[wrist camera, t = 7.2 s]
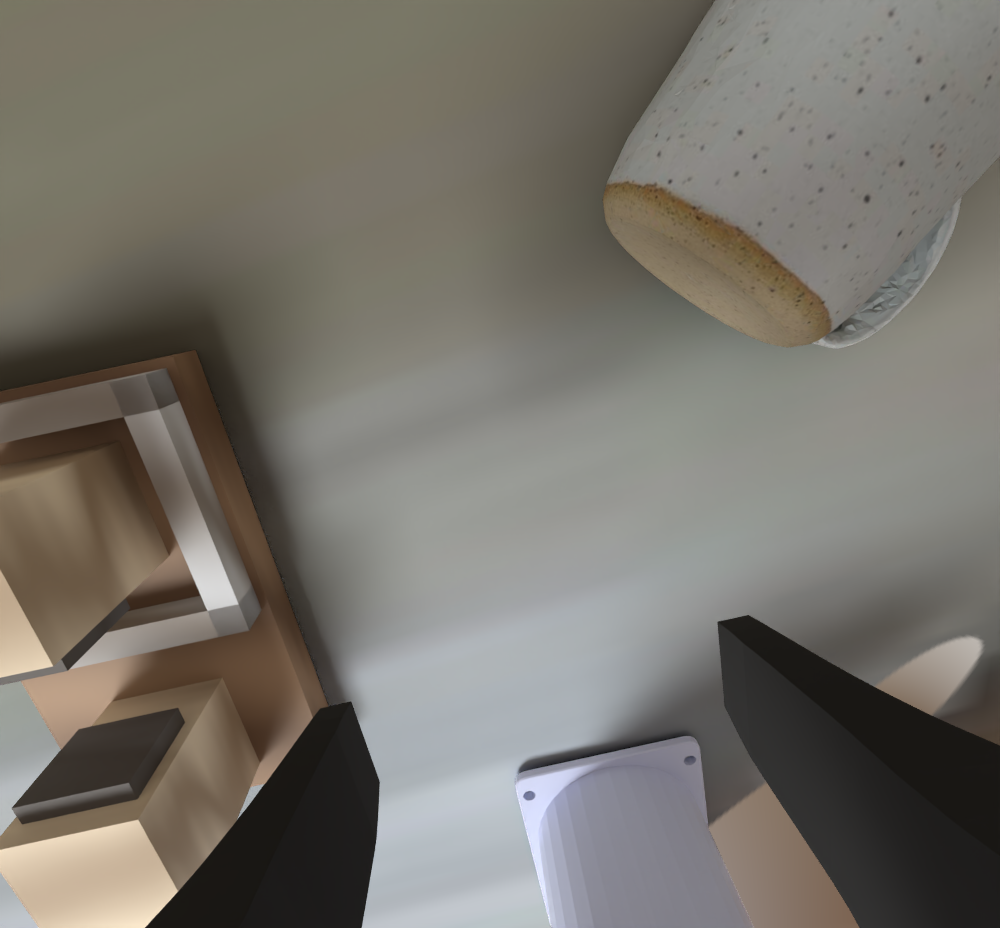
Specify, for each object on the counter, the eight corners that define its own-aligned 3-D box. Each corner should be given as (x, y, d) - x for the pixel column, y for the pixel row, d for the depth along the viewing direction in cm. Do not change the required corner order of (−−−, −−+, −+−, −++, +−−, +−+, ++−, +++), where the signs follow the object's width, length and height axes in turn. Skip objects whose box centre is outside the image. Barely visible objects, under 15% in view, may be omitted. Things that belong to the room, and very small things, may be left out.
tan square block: (-12, 467, 17) (-221, 550, 12) (118, 440, 17) (-33, 511, 12) (56, 597, 18) (-103, 722, 13) (176, 571, 18) (64, 687, 13)
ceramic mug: (558, 220, 17) (638, 179, 10) (724, -48, 15) (968, -331, 8) (797, 398, 20) (998, 467, 13) (964, 187, 18) (1310, 128, 11)
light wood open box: (340, 738, 23) (292, 926, 16) (124, 785, 23) (-14, 994, 16) (195, 349, 18) (38, 390, 11) (-85, 409, 18) (-412, 486, 11)
